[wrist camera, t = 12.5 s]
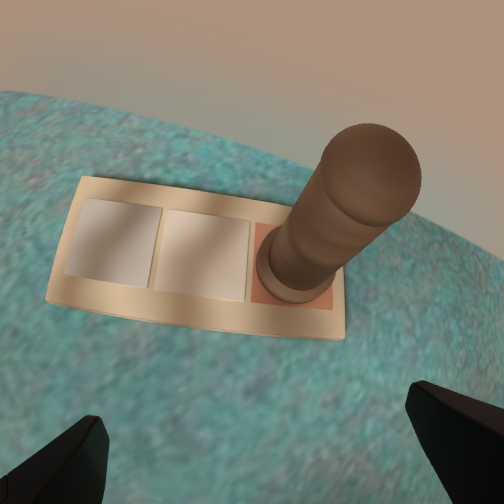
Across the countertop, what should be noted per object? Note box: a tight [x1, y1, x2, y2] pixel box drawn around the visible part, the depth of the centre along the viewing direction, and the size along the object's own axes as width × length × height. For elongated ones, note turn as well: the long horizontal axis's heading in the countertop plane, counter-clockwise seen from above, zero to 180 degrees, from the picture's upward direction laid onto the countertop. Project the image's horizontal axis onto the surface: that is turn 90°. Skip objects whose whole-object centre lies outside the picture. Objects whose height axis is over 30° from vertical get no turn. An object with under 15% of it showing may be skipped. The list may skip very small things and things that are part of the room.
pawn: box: [256, 124, 421, 304], centre depth 17 cm, size 6×6×13 cm
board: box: [45, 176, 345, 341], centre depth 22 cm, size 21×10×1 cm, turn 86°
